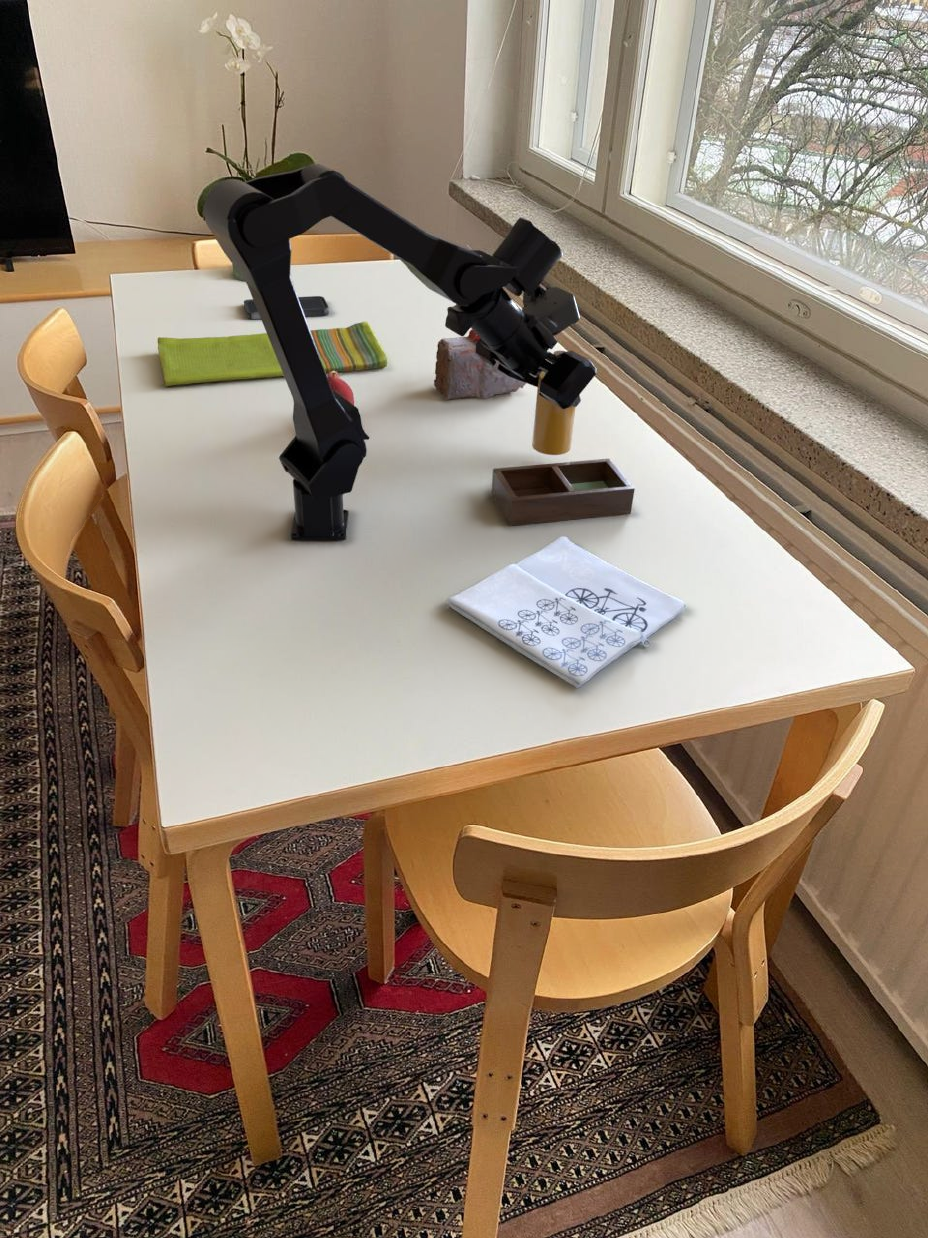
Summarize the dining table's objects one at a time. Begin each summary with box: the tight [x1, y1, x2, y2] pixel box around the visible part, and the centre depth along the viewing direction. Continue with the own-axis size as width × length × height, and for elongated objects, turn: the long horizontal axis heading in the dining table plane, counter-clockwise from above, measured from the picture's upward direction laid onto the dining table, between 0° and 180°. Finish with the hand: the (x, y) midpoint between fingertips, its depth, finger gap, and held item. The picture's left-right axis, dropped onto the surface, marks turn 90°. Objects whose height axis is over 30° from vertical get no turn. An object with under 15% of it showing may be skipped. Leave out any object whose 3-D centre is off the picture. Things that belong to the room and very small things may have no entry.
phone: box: [243, 295, 330, 320], centre depth 173 cm, size 8×1×15 cm
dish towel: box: [157, 321, 388, 387], centre depth 152 cm, size 15×36×3 cm, turn 109°
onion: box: [327, 371, 355, 406], centre depth 132 cm, size 6×6×8 cm
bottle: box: [531, 350, 576, 456], centre depth 122 cm, size 5×5×13 cm
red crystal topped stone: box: [433, 329, 527, 401], centre depth 144 cm, size 14×8×10 cm, turn 111°
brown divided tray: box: [490, 458, 636, 527], centre depth 118 cm, size 8×16×4 cm, turn 105°
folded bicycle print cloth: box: [444, 535, 687, 689], centre depth 99 cm, size 19×20×2 cm
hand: (565, 395), depth 122 cm, fingers closed on bottle, 5 cm apart
